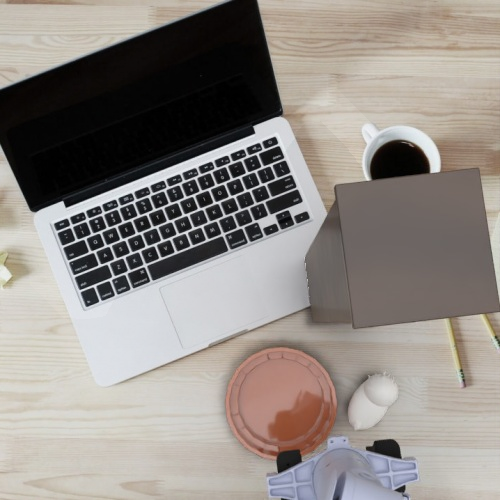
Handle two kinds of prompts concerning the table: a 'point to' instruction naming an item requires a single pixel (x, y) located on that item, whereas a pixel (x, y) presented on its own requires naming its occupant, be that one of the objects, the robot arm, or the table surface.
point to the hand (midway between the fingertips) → (334, 460)
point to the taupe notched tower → (403, 252)
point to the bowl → (280, 402)
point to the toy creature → (372, 401)
